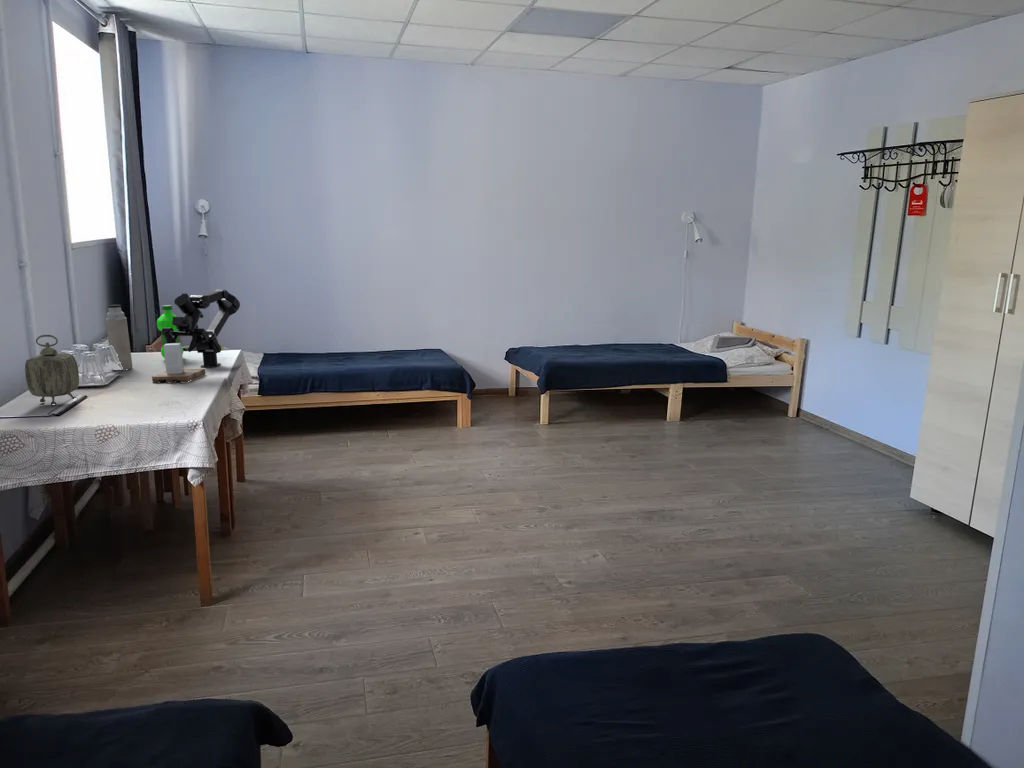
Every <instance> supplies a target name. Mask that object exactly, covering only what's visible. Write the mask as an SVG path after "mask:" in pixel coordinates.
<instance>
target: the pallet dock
mask: <svg viewBox="0 0 1024 768" xmlns="http://www.w3.org/2000/svg"><path fill="white" fill-rule="evenodd" d="M205 374H206V368H187V367H186V368H185V367H184V372H183V373H179V374H167V371H166V370H165V371H163V372H160V373H158V374H155V375H152V377H151V378H152V383H153V382H160V381H162V380H164V381H165V382H174V383H176V382H178V381H179V383H180V382H188V381H190V380H192V381H194V380H196V379H195V378H197V379H199V378H201V377H203V376H205ZM202 375H203V376H202ZM200 376H201V377H200ZM198 377H199V378H198ZM193 379H194V380H193ZM177 380H178V381H177ZM175 381H176V382H175ZM162 382H163V381H162ZM190 382H191V381H190ZM160 383H161V382H160ZM188 383H189V382H188Z"/></svg>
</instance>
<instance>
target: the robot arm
mask: <svg viewBox="0 0 1024 768" xmlns="http://www.w3.org/2000/svg"><path fill="white" fill-rule="evenodd" d="M215 302H216V305H218V312H217V313H216V315H215V316H214V318H213V319H212V321H211V323H210V324H209V326H208V328H206V329H205V328H203V327H202V328H201V327H199V325H198V323H199V320H200V319H203V318H204V314H203V313H202V311H201V310H206V309H207V308H209V307H210V306H211V304H212V303H215ZM174 305H176V307H177V308H178V309H179V311H180V312H181V313H182V314H184V316H177V317H173V320H172V325H175V326H176V328H177V329H179V331H174V330H173V329H172V328H163V329H162V331H160V335H161V334H162V335H163V336H164V337H165V338H166V339H167V344H171V343H175V342H176V339H177V336H179V337H187V338H188V337H191V341H190V343H189V346H188V348H187V349H188V350H187V351H188V353H190V352H192V351H193V350H195V349H196V351H197V353H198V354H200V353H201V354H202V359H203V361H202V362H203V364H202V365H200V368H215V367H218V366H220V365H222V363H221V362H219V363H218V355H217V354H219V353H221V352H222V346H221V345H220V344H219V341H218V336H219V334H220V333H221V331H222V329H223V328H224V326H225V324H226V323H227V321H228V319H229V318H230V316H232V315H234V314H236V313H237V312H238V310H239V309H240V307H241V302H240V301H239V299H238V298H237V297H236V296H234V295H232V294H231V293H230V292H229V291H228V290H226V289H215V290H214V291H211V292H207V293H204V294H193V295H189V294H188V293H187V292H182V293H181V295H178V296H177V297H176V298H175V299H174Z"/></svg>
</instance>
